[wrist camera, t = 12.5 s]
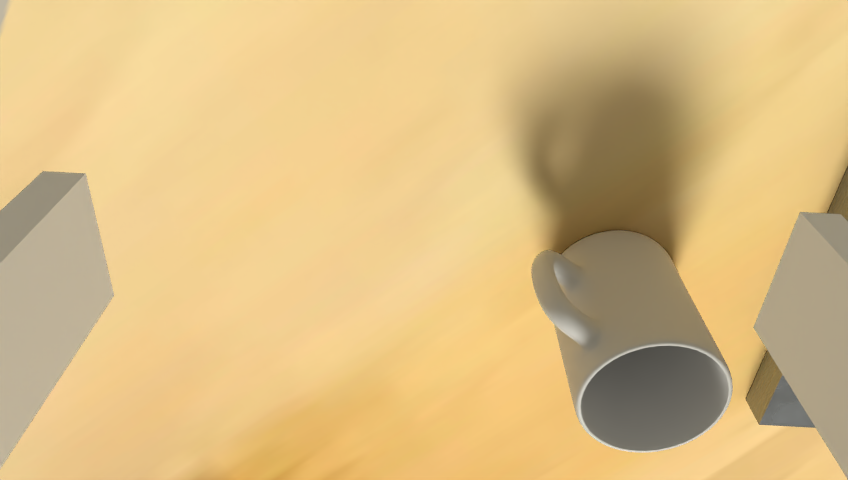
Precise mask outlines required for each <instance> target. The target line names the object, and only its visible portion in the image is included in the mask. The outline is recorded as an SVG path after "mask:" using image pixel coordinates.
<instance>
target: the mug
mask: <svg viewBox="0 0 848 480" xmlns="http://www.w3.org/2000/svg"><path fill="white" fill-rule="evenodd" d="M532 281H533V286H534V289H535V293H536V295H537V298H538V301H539V303H540V305H541V307H542V309H543V310H544V312H545V314H546V315H547V316H548V318H549V319H550V320H551V321H552V322H553V324H554V326H555V330H556V334H557V338H558V342H559V346H560V350H561V354H562V359H563V363H564V367H565V371H566V375H567V379H568V383H569V388H570V392H571V396H572V400H573V404H574V408H575V411H576V415H577V417H578V419H579V422H580V424H581V425H582V426H583V428H584V429H585V431H586V432H587V433H588V434H589V435H590V436H591V437H593V438H594V439H595V440H597V441H599V442H600V443H602V444H604V445H606V446H609V447H611V448H614V449H618V450H622V451H628V452H656V451H662V450H667V449H671V448H674V447H678V446H680V445H683V444H686V443H688V442H690V441H692V440H694V439H696V438H697V437H699V436H701V435H702V434H704V433H705V432H706V431H708V430H709V429H710V428H711V427H713V426H714V425H715V424H716V423H717V422H718V420H719V419H720V418H721V417H722V415H723V414H724V412H725V411H726V409H727V407H728V405H729V403H730V400H731V396H732V388H733V386H732V378H731V374H730V371H729V368H728V366H727V364H726V362H725V360H724V358H723V356H722V355H721V353H720V351H719V349H718V347H717V345H716V343H715V341H714V340H713V338H712V336H711V334H710V332H709V330H708V328H707V327H706V325H705V323H704V321H703V319H702V317H701V315H700V313H699V312H698V310H697V308H696V306H695V304H694V302H693V300H692V299H691V297H690V295H689V293H688V291H687V289H686V287H685V285H684V283H683V281H682V279H681V277H680V275H679V273H678V271H677V269H676V267H675V265H674V263H673V261H672V259H671V257H670V256H669V254H668V253H667V252H666V251H665V249H664V248H663V247H662V246H661V245H659V244H658V243H657V242H656V241H654V240H653V239H651V238H649V237H647V236H645V235H643V234H640V233H636V232H632V231H623V230H612V231H605V232H600V233H596V234H593V235H590V236H587V237H585V238H583V239H581V240H579V241H577V242H576V243H574V244H573V245H571V246H570V247H569V248H568V249H566V250H565V251H564V252H563V253H562V254H559V253H557V252H555V251H551V250H546V251H542V252H541V253H540V254H538V256H537V257H536V258H535V259H534V261H533V264H532Z"/></svg>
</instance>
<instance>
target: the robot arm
mask: <svg viewBox="0 0 848 480" xmlns="http://www.w3.org/2000/svg"><path fill="white" fill-rule="evenodd" d="M113 296H114V293H113V289H112V284H111V280H110V276H109V271H108V267H107V263H106V259H105V254H104V250H103V246H102V241H101V237H100V233H99V229H98V224H97V220H96V216H95V211H94V207H93V203H92V199H91V194H90V190H89V186H88V181H87V177H86V174H83V173H65V172H46V171H43V172H42V173H41V174H40V175H39V176H37V177H36V178H35V179H34V180H33V181H32V182H31V183H30V184H29V185H28V186H27V187H26V188H25V189H23V190H22V191H21V192H20V193H19V194H18V195H17V196H16V197H15V198H14V199H13V200H12V201H11V202H9V203H8V204H7V205H6V206H5V207H4V208H3V209H2V210H1V211H0V469H1V467H2V466H3V464H4V463H5V461H6V460H7V458H8V457H9V455H10V453H11V452H12V450H13V449H14V447H15V446H16V444H17V443H18V441H19V440H20V438H21V437H22V435H23V434H24V432H25V431H26V429H27V428H28V426H29V424H30V423H31V421H32V420H33V418H34V417H35V415H36V414H37V412H38V411H39V409H40V408H41V406H42V405H43V403H44V402H45V400H46V399H47V397H48V395H49V394H50V392H51V391H52V389H53V388H54V386H55V385H56V383H57V382H58V380H59V379H60V377H61V376H62V374H63V373H64V371H65V370H66V368H67V367H68V365H69V363H70V362H71V360H72V359H73V357H74V356H75V354H76V353H77V351H78V350H79V348H80V347H81V345H82V344H83V342H84V341H85V339H86V338H87V336H88V334H89V333H90V331H91V330H92V328H93V327H94V325H95V324H96V322H97V321H98V319H99V318H100V316H101V315H102V313H103V312H104V310H105V309H106V307H107V305H108V304H109V302H110V301H111V299H112V298H113ZM753 328H754V329H755V331H756V332H757V334H758V336H759V337H760V339H761V340H762V342H763V344H764V345H765V347H766V348H767V350H768V352H769V353H770V355H771V357H772V358H773V360H774V361H775V363H776V365H777V366H778V368H779V369H780V371H781V373H782V374H783V376H784V377H785V379H786V381H787V382H788V384H789V385H790V387H791V389H792V390H793V392H794V394H795V395H796V397H797V398H798V400H799V402H800V403H801V405H802V406H803V408H804V410H805V411H806V413H807V414H808V416H809V418H810V419H811V421H812V423H813V424H814V426H815V427H816V429H817V431H818V432H819V434H820V435H821V437H822V439H823V440H824V442H825V443H826V445H827V447H828V448H829V450H830V452H831V453H832V455H833V456H834V458H835V460H836V461H837V463H838V464H839V466H840V468H841V469H842V471H843V472H844V474H845V476H846V477H847V479H848V221H847V220H846V219H845V218H844V217H843V216H842V215H841V214H827V213H808V212H800V213H799V216H798V218H797V221H796V223H795V226H794V228H793V231H792V233H791V236H790V238H789V241H788V243H787V246H786V248H785V251H784V253H783V256H782V258H781V260H780V263H779V265H778V268H777V270H776V273H775V275H774V278H773V280H772V283H771V285H770V288H769V290H768V293H767V295H766V298H765V300H764V303H763V305H762V308H761V310H760V313H759V315H758V318H757V320H756V322H755V325H754V327H753Z"/></svg>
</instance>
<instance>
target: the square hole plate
mask: <svg viewBox="0 0 848 480" xmlns="http://www.w3.org/2000/svg"><path fill="white" fill-rule="evenodd" d="M827 214H841V215H842V216H843V217H844V218H845V219H846V220H847V221H848V167H847V170H846V172H845V174H844V177H843V179H842V181H841V183H840V186H839V188H838V190H837V193H836V195H835V197H834V199H833V202H832V204H831V206H830V208H829V211H828V213H827ZM746 401H747V403H748V405H749V407H750V408H751V410H752V412H753V414H754V416H755V418H756V420H757V422H758V423H759V425H776V426H795V427H814V428H816V427H815V426H814V424H813V423H812V421H811V419H810V418H809V416H808V414H807V413H806V411H805V410H804V408H803V406H802V405H801V403H800V402H799V400H798V398H797V397H796V395H795V394H794V392H793V390H792V389H791V387H790V385H789V384H788V382H787V381H786V379H785V377H784V376H783V374H782V373H781V371H780V369H779V368H778V366H777V365H776V363H775V361H774V360H773V358H772V357H771V355H770V353H769V352H768V350H767V352H766V354H765V357H764V359H763V361H762V363H761V366H760V368H759V370H758V373H757V375H756V377H755V379H754V382H753V384H752V386H751V388H750V391H749V393H748V395H747V398H746Z"/></svg>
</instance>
